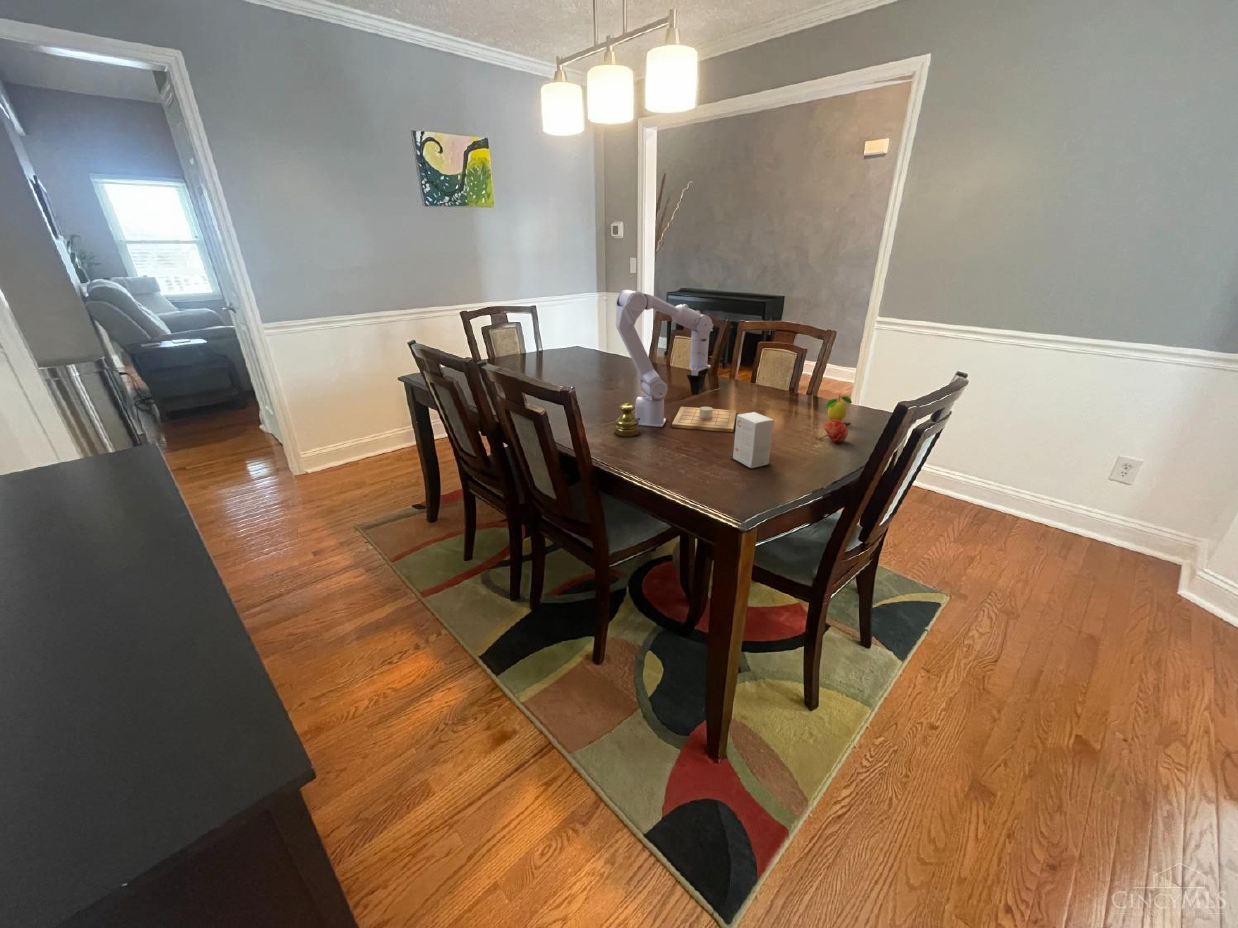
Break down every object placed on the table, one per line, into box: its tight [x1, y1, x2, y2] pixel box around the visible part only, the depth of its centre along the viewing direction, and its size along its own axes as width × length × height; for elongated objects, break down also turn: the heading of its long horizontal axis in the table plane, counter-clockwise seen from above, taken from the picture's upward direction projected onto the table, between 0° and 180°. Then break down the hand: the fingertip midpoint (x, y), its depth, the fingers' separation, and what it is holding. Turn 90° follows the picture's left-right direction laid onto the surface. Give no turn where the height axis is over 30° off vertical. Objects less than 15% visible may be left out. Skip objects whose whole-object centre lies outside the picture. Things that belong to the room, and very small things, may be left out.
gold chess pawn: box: [615, 402, 640, 438], centre depth 156 cm, size 7×7×10 cm
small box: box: [732, 411, 775, 469], centre depth 134 cm, size 8×6×13 cm
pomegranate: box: [819, 419, 852, 444], centre depth 149 cm, size 7×7×10 cm
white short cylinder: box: [699, 406, 714, 419], centre depth 168 cm, size 4×4×3 cm
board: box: [671, 406, 737, 433], centre depth 169 cm, size 20×20×1 cm
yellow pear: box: [824, 394, 853, 421], centre depth 164 cm, size 7×6×10 cm
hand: (696, 391), depth 168 cm, fingers open, 7 cm apart
